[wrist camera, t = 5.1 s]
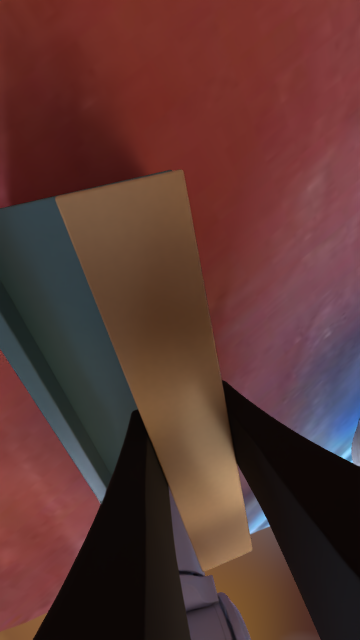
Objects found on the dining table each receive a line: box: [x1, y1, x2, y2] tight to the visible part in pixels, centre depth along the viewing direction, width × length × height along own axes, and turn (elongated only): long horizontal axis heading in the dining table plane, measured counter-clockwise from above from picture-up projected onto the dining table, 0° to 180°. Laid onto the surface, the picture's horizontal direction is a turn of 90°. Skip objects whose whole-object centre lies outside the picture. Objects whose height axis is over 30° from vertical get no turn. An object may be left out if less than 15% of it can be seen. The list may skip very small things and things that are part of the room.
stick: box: [55, 170, 252, 572], centre depth 9 cm, size 16×3×3 cm, turn 13°
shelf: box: [0, 170, 172, 503], centre depth 14 cm, size 18×9×7 cm, turn 13°
